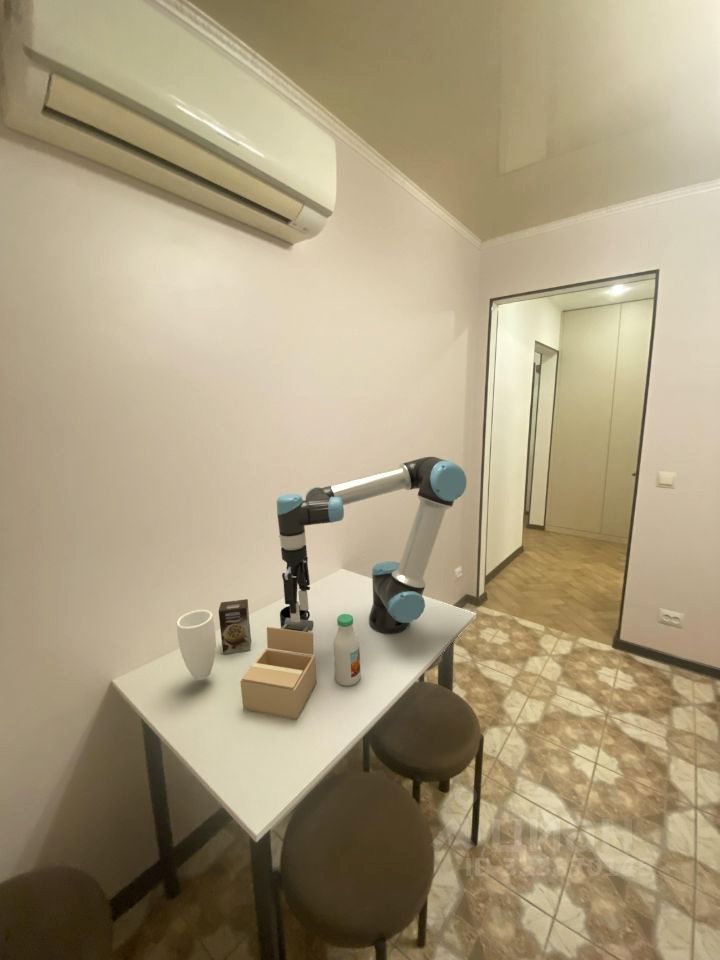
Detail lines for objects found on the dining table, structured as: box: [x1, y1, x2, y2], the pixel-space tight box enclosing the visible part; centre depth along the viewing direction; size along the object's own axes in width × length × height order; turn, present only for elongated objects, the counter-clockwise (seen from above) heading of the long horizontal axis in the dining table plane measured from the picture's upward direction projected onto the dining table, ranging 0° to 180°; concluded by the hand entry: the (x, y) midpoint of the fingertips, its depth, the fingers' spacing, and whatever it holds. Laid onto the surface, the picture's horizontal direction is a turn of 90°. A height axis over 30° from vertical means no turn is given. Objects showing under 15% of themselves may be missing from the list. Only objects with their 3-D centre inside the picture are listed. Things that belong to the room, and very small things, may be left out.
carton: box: [239, 648, 318, 721], centre depth 109 cm, size 16×14×10 cm
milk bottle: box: [333, 613, 361, 687], centre depth 114 cm, size 8×8×20 cm
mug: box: [279, 605, 311, 632], centre depth 139 cm, size 9×12×9 cm
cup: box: [176, 609, 217, 681], centre depth 114 cm, size 10×10×22 cm
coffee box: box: [218, 598, 252, 655], centre depth 131 cm, size 9×6×16 cm
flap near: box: [266, 618, 315, 656], centre depth 119 cm, size 15×7×8 cm
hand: (300, 615), depth 121 cm, fingers open, 6 cm apart
